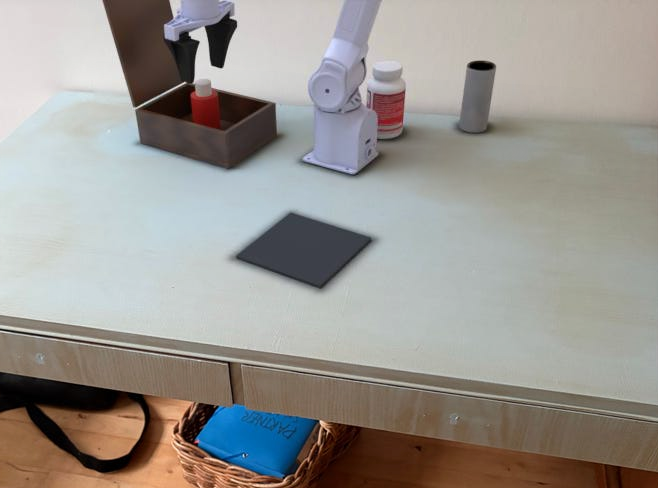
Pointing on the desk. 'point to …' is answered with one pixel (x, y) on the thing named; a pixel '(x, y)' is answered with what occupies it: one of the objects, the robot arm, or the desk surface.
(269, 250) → the mat
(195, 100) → the ketchup
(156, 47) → the brown box lid
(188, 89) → the brown wooden open box
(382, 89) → the pill bottle
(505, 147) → the desk surface
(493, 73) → the grey tube
